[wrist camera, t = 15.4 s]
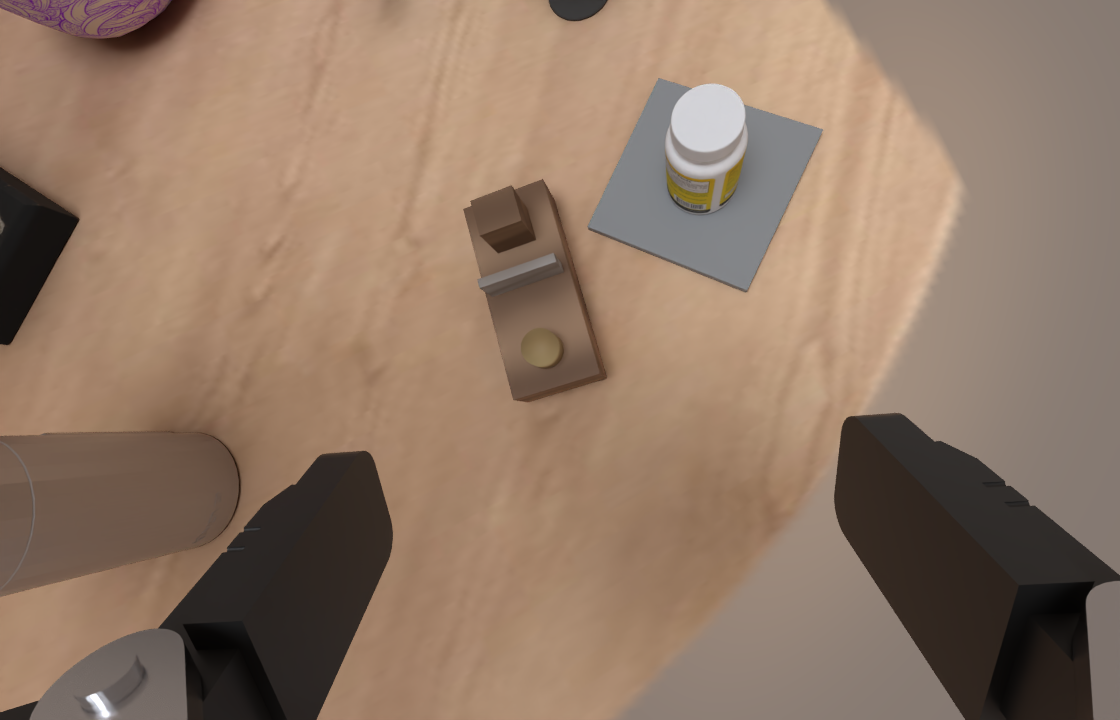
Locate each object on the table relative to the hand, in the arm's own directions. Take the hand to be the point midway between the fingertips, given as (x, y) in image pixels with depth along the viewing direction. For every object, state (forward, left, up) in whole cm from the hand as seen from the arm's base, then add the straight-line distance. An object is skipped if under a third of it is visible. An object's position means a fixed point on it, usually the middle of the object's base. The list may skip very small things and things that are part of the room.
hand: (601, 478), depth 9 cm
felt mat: (-5, +17, -28) cm, 33 cm away
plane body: (-12, +5, -28) cm, 31 cm away
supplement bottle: (-5, +17, -28) cm, 33 cm away
